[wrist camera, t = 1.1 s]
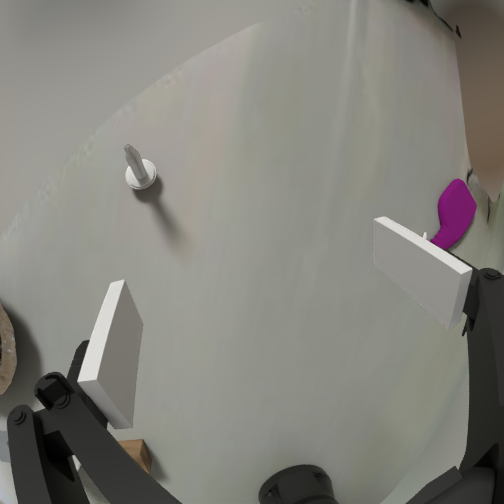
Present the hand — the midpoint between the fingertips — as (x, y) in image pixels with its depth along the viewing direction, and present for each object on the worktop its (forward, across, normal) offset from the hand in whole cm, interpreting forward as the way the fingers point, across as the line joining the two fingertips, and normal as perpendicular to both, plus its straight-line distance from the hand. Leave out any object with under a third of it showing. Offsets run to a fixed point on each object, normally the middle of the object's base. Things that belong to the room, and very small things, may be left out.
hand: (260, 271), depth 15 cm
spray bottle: (+33, -48, +19) cm, 61 cm away
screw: (+36, +10, -1) cm, 37 cm away
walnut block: (+15, +25, +38) cm, 48 cm away
